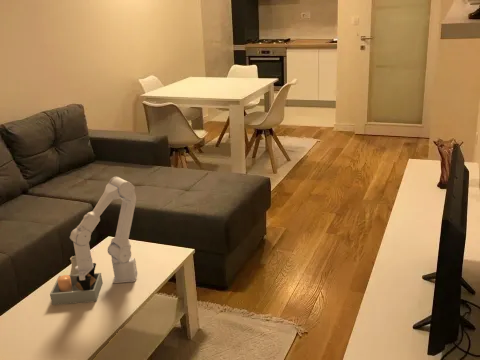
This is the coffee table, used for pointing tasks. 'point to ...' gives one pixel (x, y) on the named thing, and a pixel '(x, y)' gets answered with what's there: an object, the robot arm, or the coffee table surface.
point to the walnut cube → (90, 283)
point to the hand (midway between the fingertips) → (89, 286)
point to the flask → (74, 264)
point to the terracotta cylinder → (65, 283)
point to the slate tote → (76, 292)
